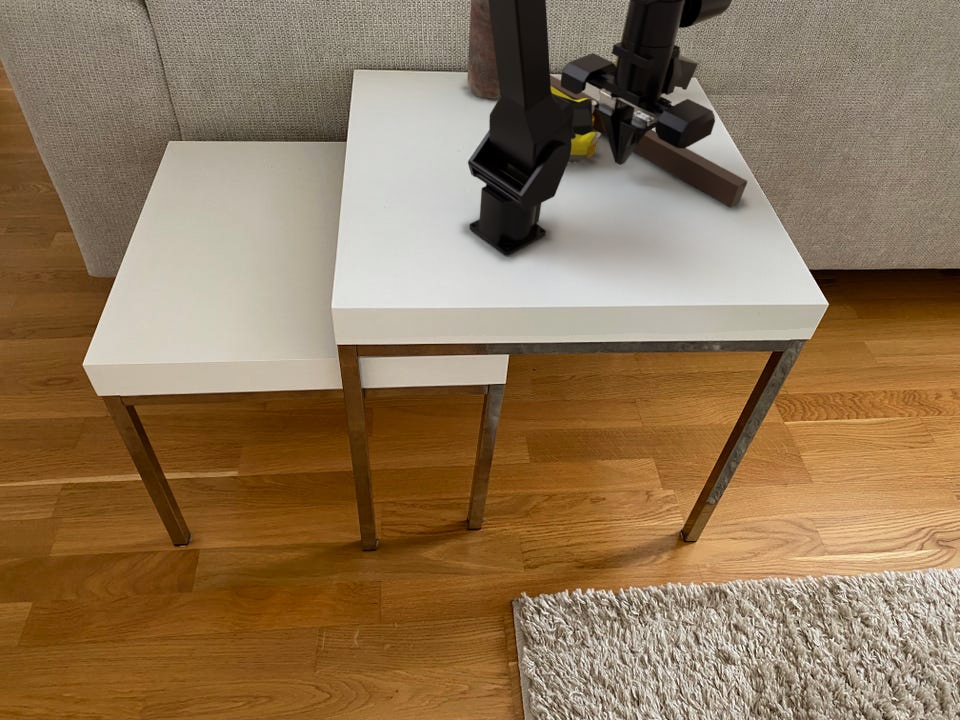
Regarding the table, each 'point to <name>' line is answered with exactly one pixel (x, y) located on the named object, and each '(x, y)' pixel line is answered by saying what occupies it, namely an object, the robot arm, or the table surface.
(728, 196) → the back rail
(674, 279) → the table surface
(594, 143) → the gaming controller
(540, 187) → the robot arm
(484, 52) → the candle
